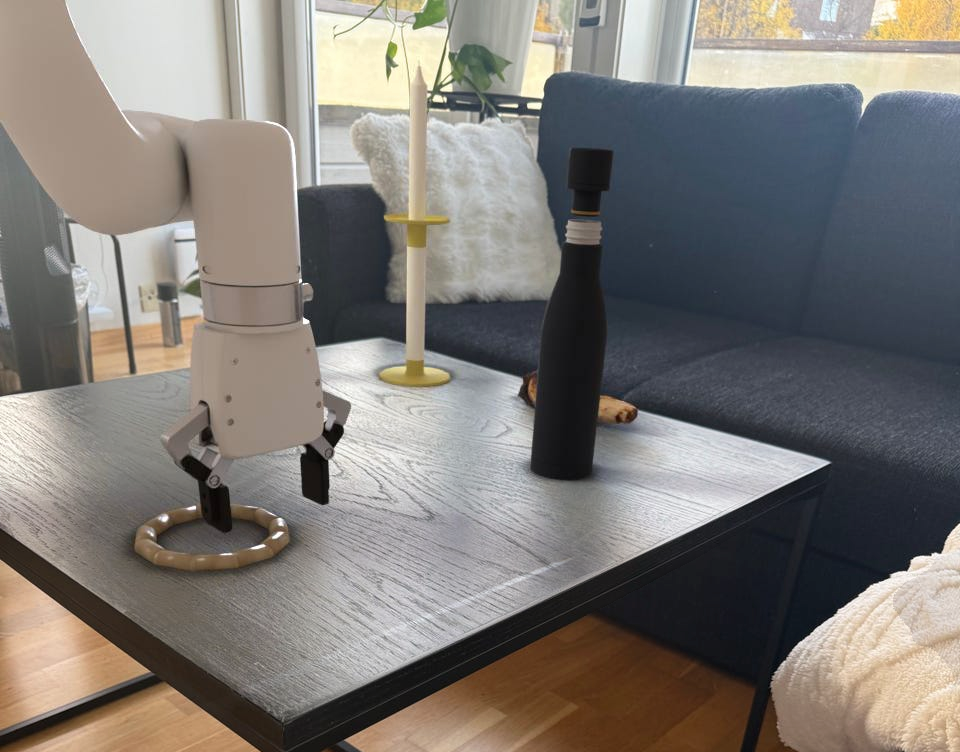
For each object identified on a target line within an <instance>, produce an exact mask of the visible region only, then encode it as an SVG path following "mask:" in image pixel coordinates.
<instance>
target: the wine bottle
mask: <svg viewBox="0 0 960 752" xmlns="http://www.w3.org/2000/svg"><path fill="white" fill-rule="evenodd" d="M613 159H614V150H613V149H607V148H593V147H570V148H569V152H568V162H567V163H568V164H567V176H566V189H568V190H573V194H572V206H571V209H570V213H571V215H572V216H578V217H588V218H589V217H590V218H592V217H593V218H595V217H596V218H597V217H599V216H600V215H601V210H600V209H601V203H602V202H601V201H602V193H603V192H609V191H610V188H611V186H610V185H611V179H612V169H613V162H614V161H613ZM565 228H566V233H565V234H564V236H565V237H566V240H564V241H563V242H562V243H561V250H560V251H561V252H560V262H559V263H560V265H559V272H558V273H559V274H558V277H557V278H556V281H555V283H554V286H553V288H552V291H551V293H550V296H549V299H548V301H547V305H546V308H545V312H544V314H543V319H542V324H541V327H540V337H539V350H538V351H539V352H538V363H537V371H538V374H537V387H536V400H535V406H534V413H533V427H532V437H531V438H532V439H531V440H532V441H531V452H530V453H531V454H530V466H529V467H530V471H531V472H532V473H533V474H535V475H537V476H540V477H543V478H546V479H551V480H558V481H578V480H582V479H586V478H588V477H590V476H591V474H592V472H593V463H594V458H595V457H594V455H595V446H596V440H597V439H596V437H597V430H598V423H597V421H598V412H599V404H600V395H601V394H602V384H603V376H604V367H605V359H606V351H607V350H606V349H607V340H608V320H607V319H608V318H607V307H606V301H605V295H604V290H603V286H602V281H601V277H600V276H601V275H600V274H601V267H602V257H603V248H604V247H603V244H602V243H600V240H601V239H602V236H601V231H603V227H602V222H601V221H598V220H591V219H568V220H567V224H566V225H565Z"/></svg>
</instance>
